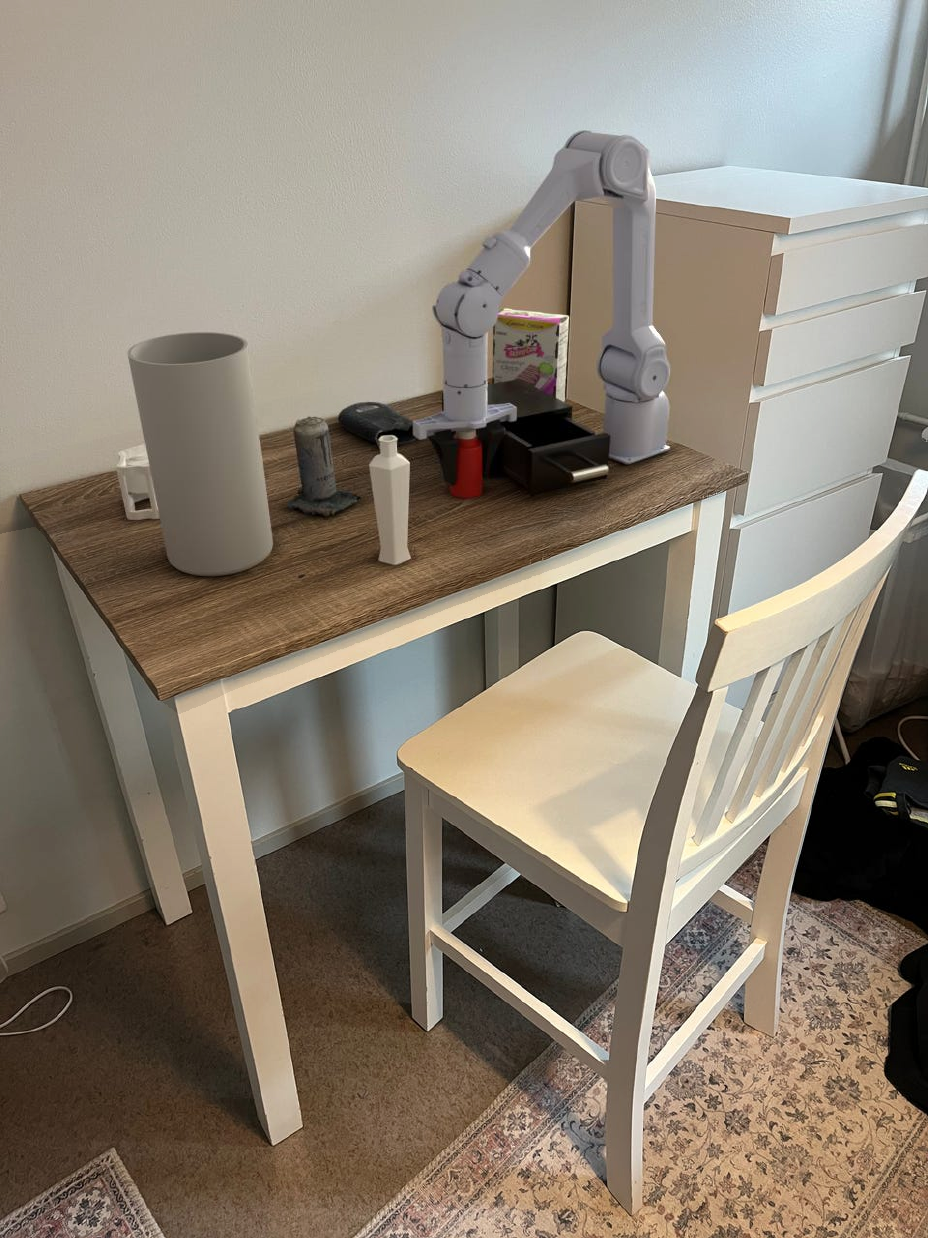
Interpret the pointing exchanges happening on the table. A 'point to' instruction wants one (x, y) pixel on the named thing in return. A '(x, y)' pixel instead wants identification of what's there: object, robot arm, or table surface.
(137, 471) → the white hollow box frame
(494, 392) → the cabinet
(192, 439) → the cylinder vase
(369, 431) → the black crumpled pouch
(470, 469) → the sauce bottle
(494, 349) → the candy bar box
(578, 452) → the drawer
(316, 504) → the beverage can
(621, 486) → the table surface
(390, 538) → the white faceted vase
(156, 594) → the table surface
